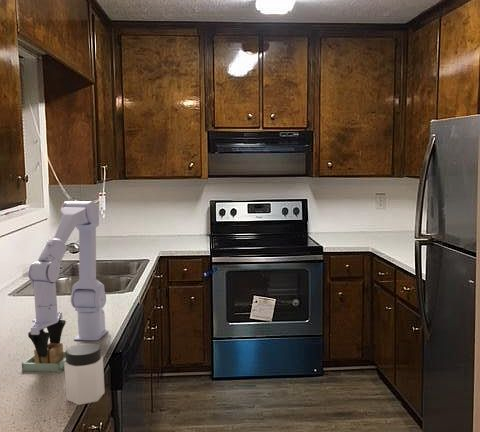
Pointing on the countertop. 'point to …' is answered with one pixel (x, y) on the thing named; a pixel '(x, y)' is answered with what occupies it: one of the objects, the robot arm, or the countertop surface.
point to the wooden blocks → (50, 354)
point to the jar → (84, 373)
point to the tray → (43, 365)
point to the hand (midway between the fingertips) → (49, 351)
